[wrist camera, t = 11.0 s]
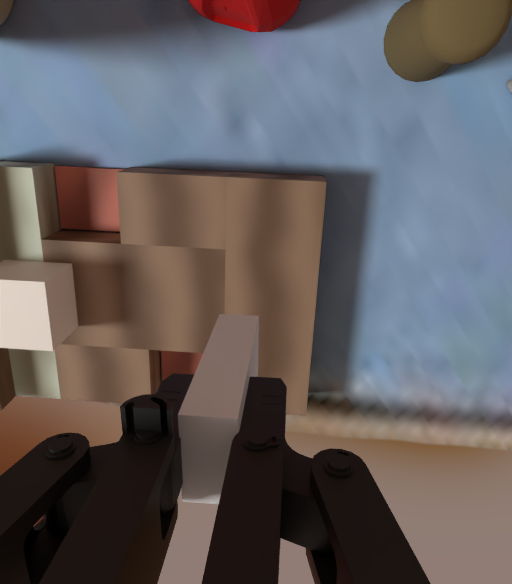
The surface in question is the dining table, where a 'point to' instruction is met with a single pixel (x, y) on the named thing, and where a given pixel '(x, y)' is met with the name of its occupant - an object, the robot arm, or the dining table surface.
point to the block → (36, 304)
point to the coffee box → (510, 85)
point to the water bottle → (247, 13)
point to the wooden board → (163, 272)
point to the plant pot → (5, 9)
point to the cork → (442, 35)
